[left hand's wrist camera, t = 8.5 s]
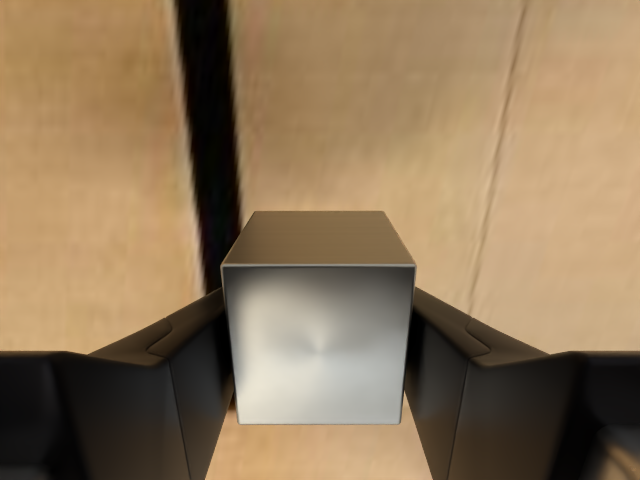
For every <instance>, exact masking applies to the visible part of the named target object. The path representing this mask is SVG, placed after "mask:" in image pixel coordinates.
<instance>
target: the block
mask: <svg viewBox="0 0 640 480" xmlns="http://www.w3.org/2000/svg"><path fill="white" fill-rule="evenodd" d="M416 270H417V265H416V263H415V261H414V260H413V258H412V256H411V255H410V253H409V252H408V250H407V248H406V247H405V245H404V243H403V242H402V240H401V239H400V237H399V235H398V234H397V232H396V230H395V229H394V227H393V225H392V224H391V222H390V221H389V219H388V217H387V216H386V214H385V212H384V211H255V212H254V213H253V215H252V216H251V218H250V219H249V221H248V223H247V224H246V226H245V227H244V229H243V231H242V232H241V234H240V235H239V237H238V239H237V240H236V242H235V243H234V245H233V247H232V248H231V250H230V251H229V253H228V254H227V256H226V258H225V259H224V261H223V262H222V264H221V275H222V284H223V294H224V303H225V312H226V321H227V330H228V340H229V349H230V358H231V367H232V377H233V386H234V395H235V404H236V414H237V422H238V424H240V425H398V424H400V423H401V416H402V406H403V397H404V387H405V377H406V368H407V358H408V348H409V338H410V329H411V319H412V309H413V299H414V290H415V280H416Z"/></svg>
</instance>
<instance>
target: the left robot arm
mask: <svg viewBox="0 0 640 480" xmlns="http://www.w3.org/2000/svg"><path fill="white" fill-rule="evenodd" d="M404 390H405V394H406V397H407V400H408V403H409V406H410V409H411V412H412V415H413V419H414V422H415V425H416V428H417V431H418V434H419V437H420V440H421V444H422V447H423V450H424V453H425V456H426V459H427V462H428V465H429V469H430V472H431V475H432V478H433V480H640V351H567V352H562V353H556V354H551V355H550V354H547V353H545V352H543V351H541V350H539V349H536V348H534V347H532V346H530V345H528V344H525V343H523V342H521V341H519V340H517V339H514V338H512V337H510V336H508V335H506V334H504V333H502V332H500V331H498V330H496V329H494V328H492V327H490V326H488V325H486V324H484V323H482V322H480V321H478V320H477V319H475V318H472V317H471V316H469V315H467V314H465V313H463V312H462V311H460V310H458V309H456V308H454V307H452V306H451V305H449V304H447V303H445V302H443V301H441V300H439V299H438V298H436V297H434V296H432V295H430V294H428V293H426V292H425V291H423V290H421V289H419V288H417V287H415V290H414V299H413V309H412V319H411V329H410V338H409V348H408V358H407V368H406V377H405V387H404ZM233 391H234V386H233V377H232V367H231V358H230V349H229V340H228V330H227V321H226V312H225V303H224V294H223V287H221V288H219V289H217V290H215V291H214V292H212V293H210V294H208V295H206V296H204V297H202V298H201V299H199V300H197V301H195V302H193V303H191V304H189V305H188V306H186V307H184V308H182V309H180V310H178V311H176V312H174V313H173V314H171V315H169V316H167V317H166V318H163V319H161V320H159V321H158V322H156V323H154V324H152V325H150V326H148V327H146V328H144V329H142V330H140V331H138V332H136V333H134V334H132V335H129V336H127V337H125V338H123V339H121V340H119V341H116V342H114V343H112V344H110V345H108V346H105V347H103V348H101V349H99V350H97V351H94V352H92V353H90V354H88V355H85V354H80V353H74V352H68V351H0V480H205V477H206V474H207V471H208V468H209V465H210V462H211V459H212V456H213V453H214V450H215V447H216V443H217V440H218V437H219V434H220V431H221V428H222V425H223V422H224V419H225V416H226V413H227V409H228V406H229V403H230V400H231V397H232V394H233Z"/></svg>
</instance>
